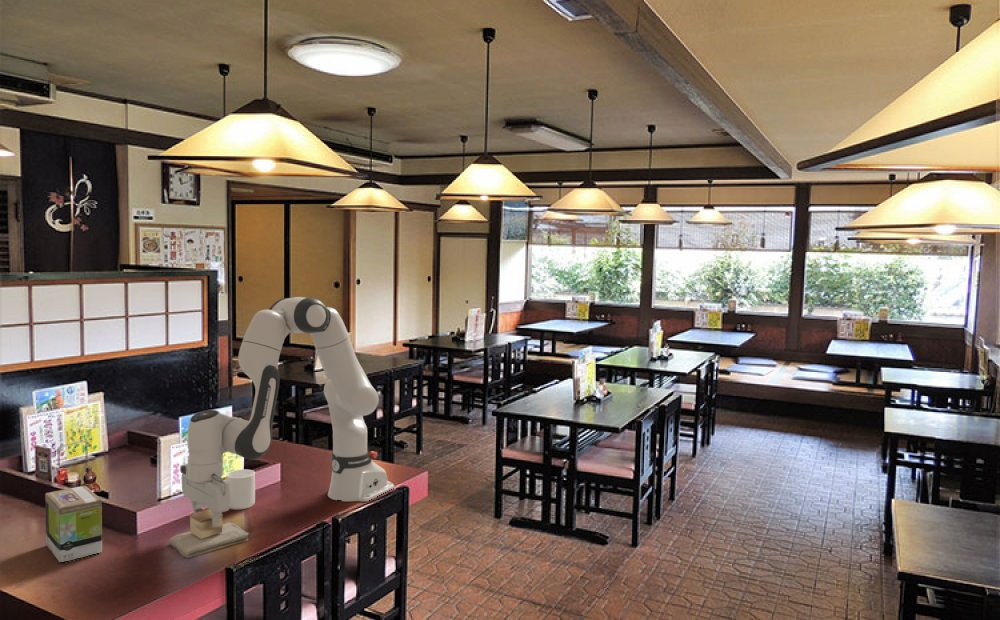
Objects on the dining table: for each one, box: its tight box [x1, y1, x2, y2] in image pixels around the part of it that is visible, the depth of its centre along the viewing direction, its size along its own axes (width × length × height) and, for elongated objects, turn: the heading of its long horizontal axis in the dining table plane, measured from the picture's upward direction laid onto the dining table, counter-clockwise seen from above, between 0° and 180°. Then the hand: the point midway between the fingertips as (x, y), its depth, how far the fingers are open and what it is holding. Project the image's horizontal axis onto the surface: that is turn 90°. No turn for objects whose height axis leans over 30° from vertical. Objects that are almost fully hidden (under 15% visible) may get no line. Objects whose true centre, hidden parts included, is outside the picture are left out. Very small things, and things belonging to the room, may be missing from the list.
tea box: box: [44, 485, 103, 563], centre depth 180 cm, size 15×10×15 cm
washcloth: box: [168, 521, 250, 559], centre depth 187 cm, size 12×18×3 cm, turn 135°
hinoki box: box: [189, 508, 224, 539], centre depth 187 cm, size 6×6×5 cm
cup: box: [224, 468, 256, 511], centre depth 212 cm, size 8×12×10 cm
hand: (206, 519), depth 187 cm, fingers open, 8 cm apart
